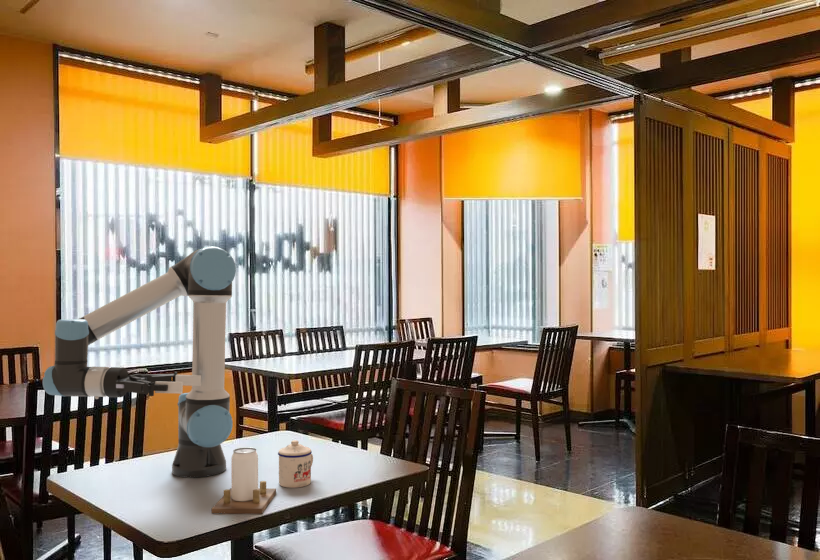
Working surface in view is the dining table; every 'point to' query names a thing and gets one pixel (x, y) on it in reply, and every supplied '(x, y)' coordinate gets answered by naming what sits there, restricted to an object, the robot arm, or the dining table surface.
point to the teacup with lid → (295, 465)
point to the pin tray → (250, 507)
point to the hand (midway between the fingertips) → (191, 384)
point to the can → (244, 474)
